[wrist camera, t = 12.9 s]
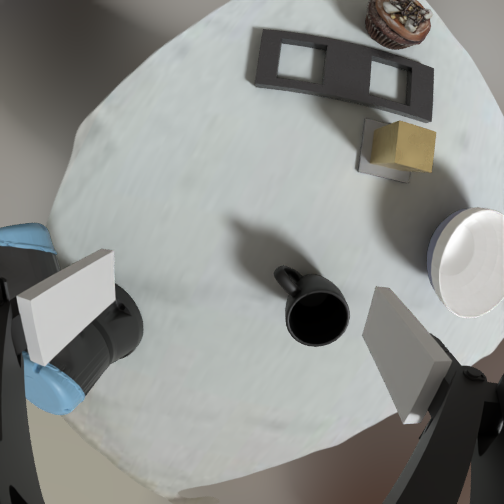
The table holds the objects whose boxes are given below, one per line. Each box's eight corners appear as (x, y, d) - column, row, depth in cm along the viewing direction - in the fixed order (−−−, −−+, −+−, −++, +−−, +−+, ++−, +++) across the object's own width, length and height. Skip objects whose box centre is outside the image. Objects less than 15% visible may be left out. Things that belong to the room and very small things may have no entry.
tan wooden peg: (369, 163, 40) (394, 162, 31) (374, 130, 39) (399, 120, 30) (400, 170, 40) (431, 172, 31) (405, 138, 39) (436, 132, 29)
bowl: (393, 265, 45) (417, 287, 35) (444, 180, 40) (478, 185, 31) (453, 309, 46) (479, 334, 36) (499, 234, 41) (532, 248, 32)
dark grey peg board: (256, 87, 40) (254, 83, 38) (263, 34, 37) (263, 29, 35) (425, 123, 38) (431, 121, 36) (428, 71, 36) (433, 68, 34)
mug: (301, 234, 45) (307, 252, 36) (347, 294, 46) (361, 322, 37) (257, 268, 47) (252, 293, 37) (305, 324, 48) (310, 357, 39)
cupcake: (423, 29, 34) (450, 6, 24) (401, 66, 36) (428, 45, 27) (374, -4, 33) (392, -34, 24) (349, 30, 36) (364, 1, 26)
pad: (357, 171, 42) (358, 171, 41) (364, 118, 39) (365, 118, 39) (407, 182, 41) (408, 183, 41) (413, 131, 39) (415, 131, 38)
